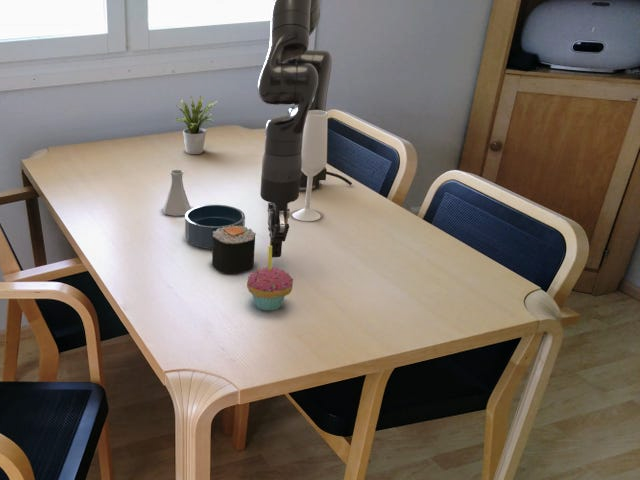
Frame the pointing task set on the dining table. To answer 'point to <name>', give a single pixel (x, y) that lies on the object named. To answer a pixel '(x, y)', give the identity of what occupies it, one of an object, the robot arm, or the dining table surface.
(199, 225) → the bowl
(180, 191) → the flask
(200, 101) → the house plant
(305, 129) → the champagne flute
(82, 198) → the dining table surface
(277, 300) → the cupcake
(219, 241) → the sushi
